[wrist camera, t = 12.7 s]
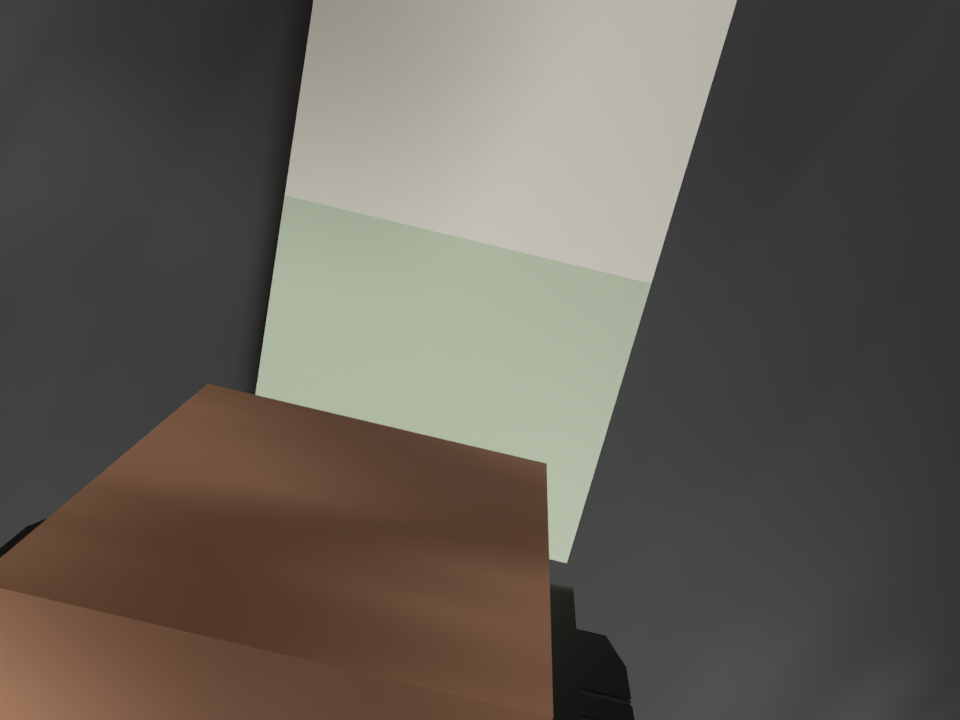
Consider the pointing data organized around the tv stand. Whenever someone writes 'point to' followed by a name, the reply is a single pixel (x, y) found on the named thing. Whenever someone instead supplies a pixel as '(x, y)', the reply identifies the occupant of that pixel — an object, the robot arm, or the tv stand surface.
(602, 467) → the tv stand surface
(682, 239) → the tv stand surface
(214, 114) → the tv stand surface
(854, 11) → the tv stand surface
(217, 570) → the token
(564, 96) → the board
